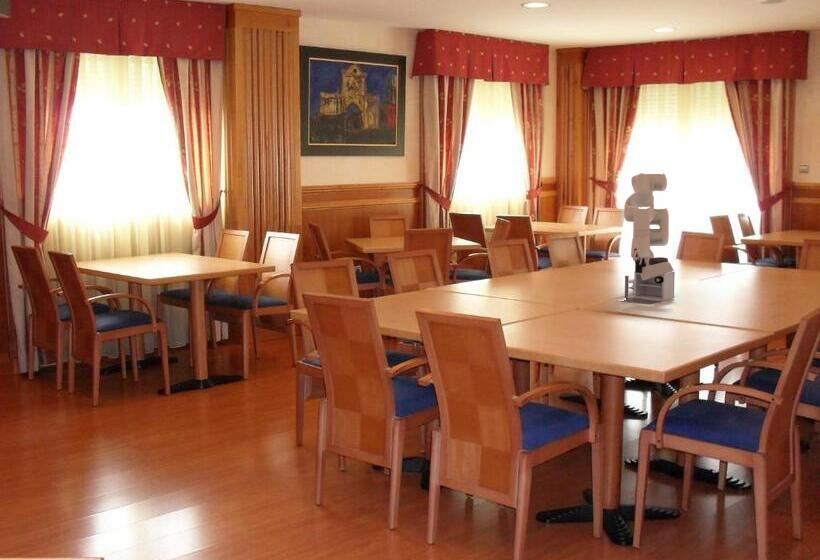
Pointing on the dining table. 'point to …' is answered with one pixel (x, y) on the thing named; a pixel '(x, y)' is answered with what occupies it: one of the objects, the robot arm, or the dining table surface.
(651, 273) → the grey plank with wheel
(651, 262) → the coffee jar
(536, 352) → the dining table surface
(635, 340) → the dining table surface
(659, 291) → the cabinet
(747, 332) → the dining table surface
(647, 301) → the grey l-shaped piece
